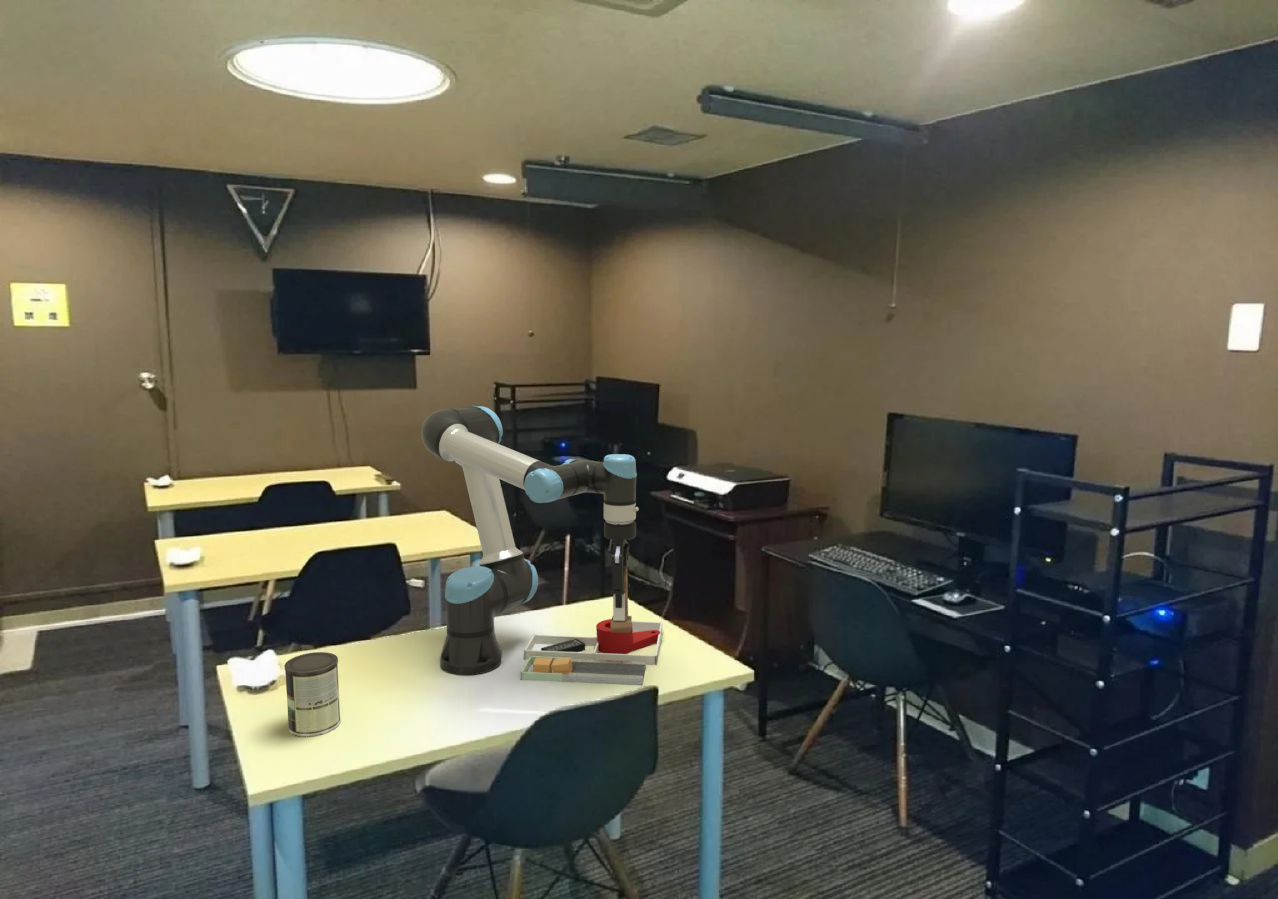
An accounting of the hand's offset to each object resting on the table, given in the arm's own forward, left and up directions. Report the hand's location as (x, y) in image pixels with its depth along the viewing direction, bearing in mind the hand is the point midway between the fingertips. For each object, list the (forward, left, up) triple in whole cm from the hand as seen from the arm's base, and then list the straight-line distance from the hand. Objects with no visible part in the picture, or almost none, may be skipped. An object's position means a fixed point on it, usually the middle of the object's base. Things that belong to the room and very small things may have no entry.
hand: (620, 617), depth 189 cm
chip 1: (-19, 0, -15) cm, 24 cm away
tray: (-18, 0, -15) cm, 24 cm away
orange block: (-14, 0, -15) cm, 20 cm away
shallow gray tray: (-4, 0, -15) cm, 16 cm away
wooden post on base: (0, 0, -3) cm, 3 cm away
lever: (+1, +19, -15) cm, 24 cm away
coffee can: (-61, -30, -16) cm, 70 cm away
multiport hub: (-16, +13, -15) cm, 26 cm away
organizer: (-8, +19, -15) cm, 26 cm away
